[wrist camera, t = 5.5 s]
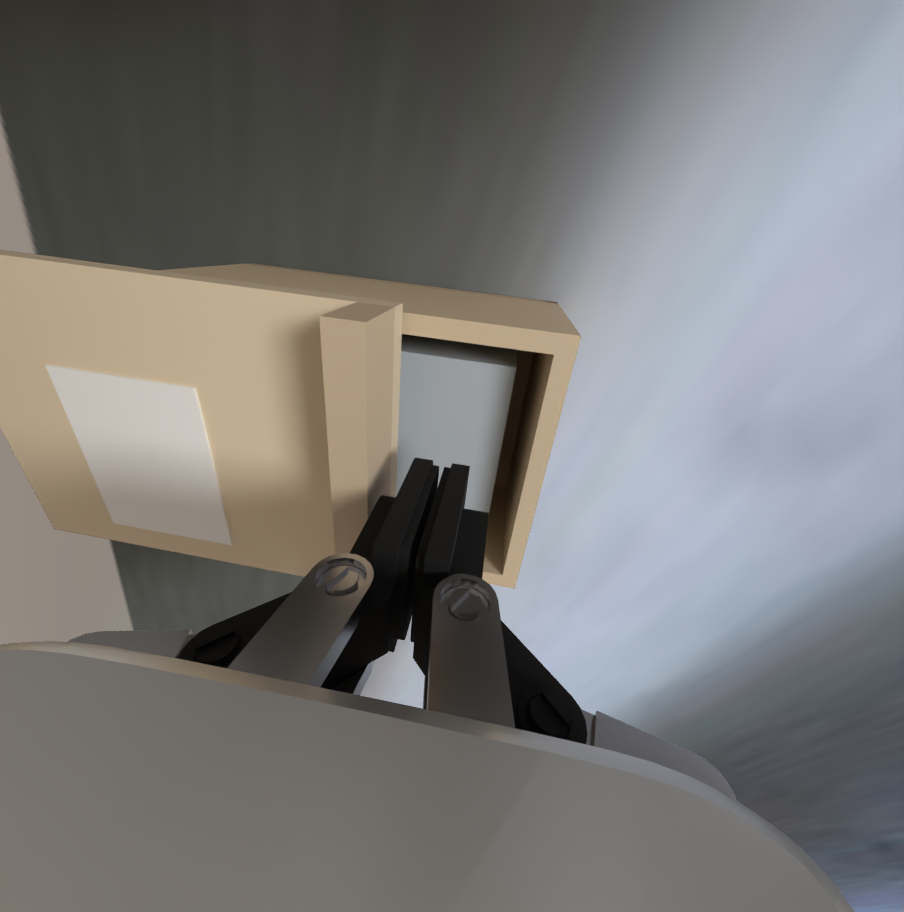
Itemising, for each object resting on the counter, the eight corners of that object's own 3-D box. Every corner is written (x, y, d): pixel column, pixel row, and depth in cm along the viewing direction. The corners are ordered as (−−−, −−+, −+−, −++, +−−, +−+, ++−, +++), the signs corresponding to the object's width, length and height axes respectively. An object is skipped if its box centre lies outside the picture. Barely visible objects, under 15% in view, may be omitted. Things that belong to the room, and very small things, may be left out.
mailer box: (557, 302, 17) (580, 336, 11) (514, 491, 22) (514, 588, 15) (251, 263, 18) (112, 273, 12) (277, 452, 23) (190, 528, 17)
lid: (402, 302, 10) (365, 322, 8) (393, 577, 16) (369, 643, 13) (-63, 241, 12) (-230, 240, 9) (73, 517, 17) (-8, 567, 14)
